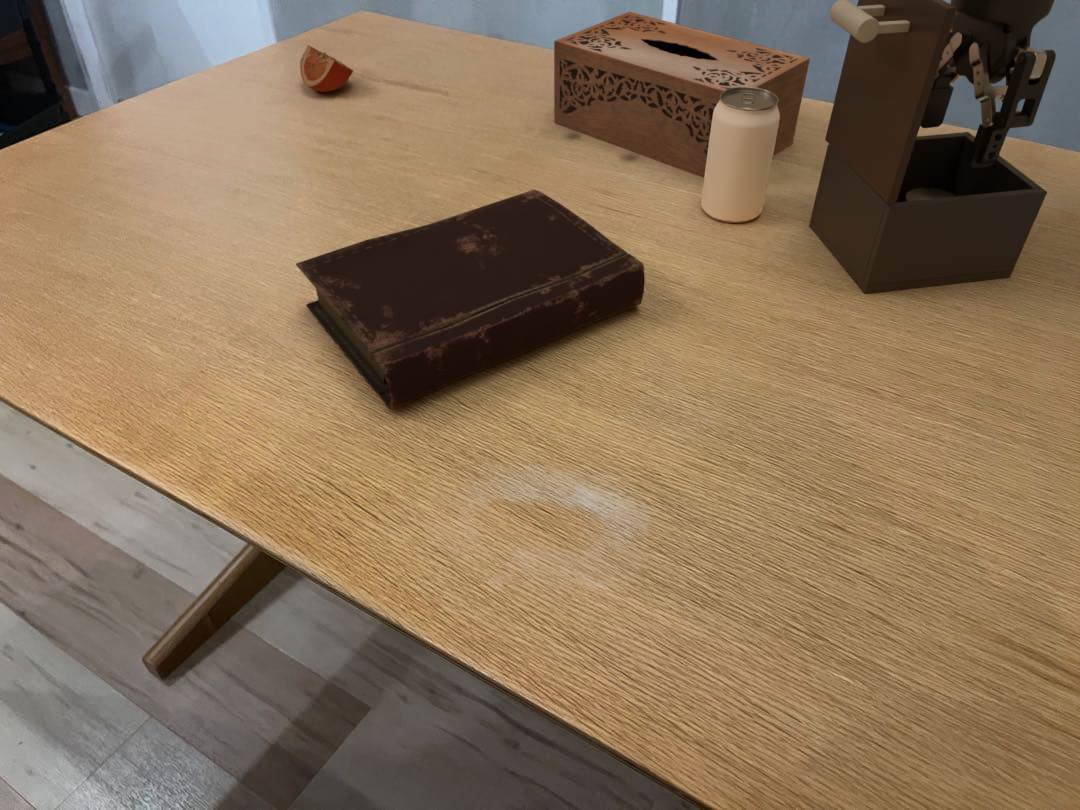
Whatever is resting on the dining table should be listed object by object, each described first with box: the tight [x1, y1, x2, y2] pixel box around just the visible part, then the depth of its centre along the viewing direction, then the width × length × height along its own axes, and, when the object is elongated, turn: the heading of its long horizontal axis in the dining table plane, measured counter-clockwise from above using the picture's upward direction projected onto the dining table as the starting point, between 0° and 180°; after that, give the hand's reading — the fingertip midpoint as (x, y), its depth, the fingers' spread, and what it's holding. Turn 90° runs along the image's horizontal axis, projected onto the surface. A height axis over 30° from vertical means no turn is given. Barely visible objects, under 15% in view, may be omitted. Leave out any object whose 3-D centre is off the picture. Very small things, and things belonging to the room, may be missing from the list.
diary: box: [295, 189, 646, 411], centre depth 73 cm, size 19×25×5 cm
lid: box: [825, 0, 957, 203], centre depth 68 cm, size 15×13×5 cm
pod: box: [904, 188, 957, 202], centre depth 80 cm, size 5×5×4 cm
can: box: [700, 87, 780, 224], centre depth 83 cm, size 6×6×12 cm
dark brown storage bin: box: [808, 131, 1048, 294], centre depth 78 cm, size 15×13×9 cm
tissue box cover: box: [553, 11, 811, 178], centre depth 98 cm, size 26×14×10 cm, turn 47°
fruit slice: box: [299, 44, 354, 93], centre depth 112 cm, size 8×7×5 cm
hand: (952, 145), depth 75 cm, fingers open, 8 cm apart
